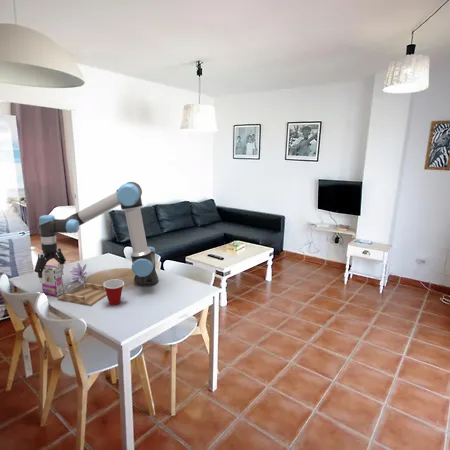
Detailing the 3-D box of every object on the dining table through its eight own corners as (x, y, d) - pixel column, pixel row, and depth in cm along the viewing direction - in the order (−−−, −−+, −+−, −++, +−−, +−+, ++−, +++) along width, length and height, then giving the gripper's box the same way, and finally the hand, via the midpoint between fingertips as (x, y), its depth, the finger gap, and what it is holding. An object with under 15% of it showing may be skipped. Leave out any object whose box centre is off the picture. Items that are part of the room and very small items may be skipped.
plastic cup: (114, 309, 166) (112, 288, 164) (100, 304, 172) (98, 284, 169) (129, 301, 176) (128, 281, 173) (115, 297, 181) (114, 277, 178)
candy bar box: (64, 293, 184) (61, 267, 180) (56, 297, 179) (54, 269, 176) (50, 290, 188) (47, 264, 184) (42, 293, 183) (39, 266, 180)
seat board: (111, 292, 187) (111, 284, 185) (90, 306, 170) (90, 297, 169) (80, 287, 193) (79, 279, 191) (57, 300, 176) (56, 291, 174)
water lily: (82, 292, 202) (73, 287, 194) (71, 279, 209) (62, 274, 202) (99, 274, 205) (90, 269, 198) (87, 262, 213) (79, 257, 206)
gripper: (60, 237, 189) (63, 270, 194) (24, 248, 166) (28, 285, 171) (71, 238, 187) (73, 272, 192) (35, 249, 164) (39, 287, 169)
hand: (52, 278), depth 181 cm, fingers open, 13 cm apart
